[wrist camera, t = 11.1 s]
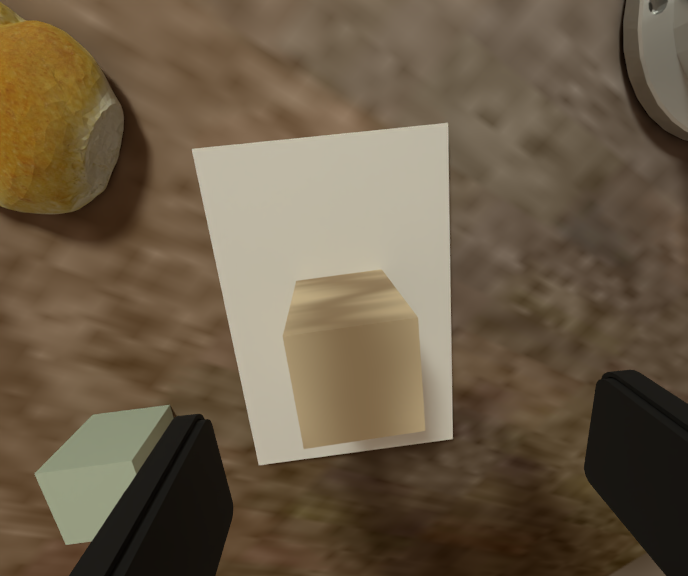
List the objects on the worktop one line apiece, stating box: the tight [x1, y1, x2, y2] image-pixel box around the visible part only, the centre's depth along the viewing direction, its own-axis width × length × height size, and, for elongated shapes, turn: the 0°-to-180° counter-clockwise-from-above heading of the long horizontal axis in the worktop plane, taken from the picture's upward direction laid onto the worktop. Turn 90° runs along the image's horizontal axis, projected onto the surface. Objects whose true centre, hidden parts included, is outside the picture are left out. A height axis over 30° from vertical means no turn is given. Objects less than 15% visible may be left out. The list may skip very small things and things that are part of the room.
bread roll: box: [0, 2, 124, 214], centre depth 14 cm, size 8×9×4 cm
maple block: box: [283, 269, 425, 449], centre depth 15 cm, size 4×4×7 cm
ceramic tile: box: [192, 123, 453, 465], centre depth 19 cm, size 12×18×1 cm, turn 6°
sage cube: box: [35, 405, 174, 545], centre depth 19 cm, size 4×4×4 cm
